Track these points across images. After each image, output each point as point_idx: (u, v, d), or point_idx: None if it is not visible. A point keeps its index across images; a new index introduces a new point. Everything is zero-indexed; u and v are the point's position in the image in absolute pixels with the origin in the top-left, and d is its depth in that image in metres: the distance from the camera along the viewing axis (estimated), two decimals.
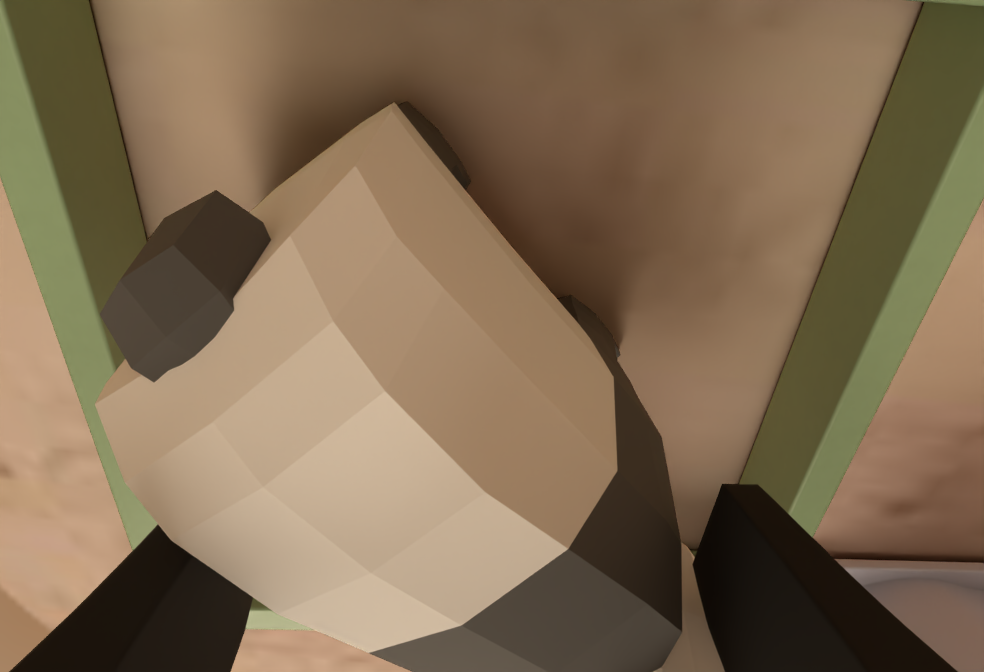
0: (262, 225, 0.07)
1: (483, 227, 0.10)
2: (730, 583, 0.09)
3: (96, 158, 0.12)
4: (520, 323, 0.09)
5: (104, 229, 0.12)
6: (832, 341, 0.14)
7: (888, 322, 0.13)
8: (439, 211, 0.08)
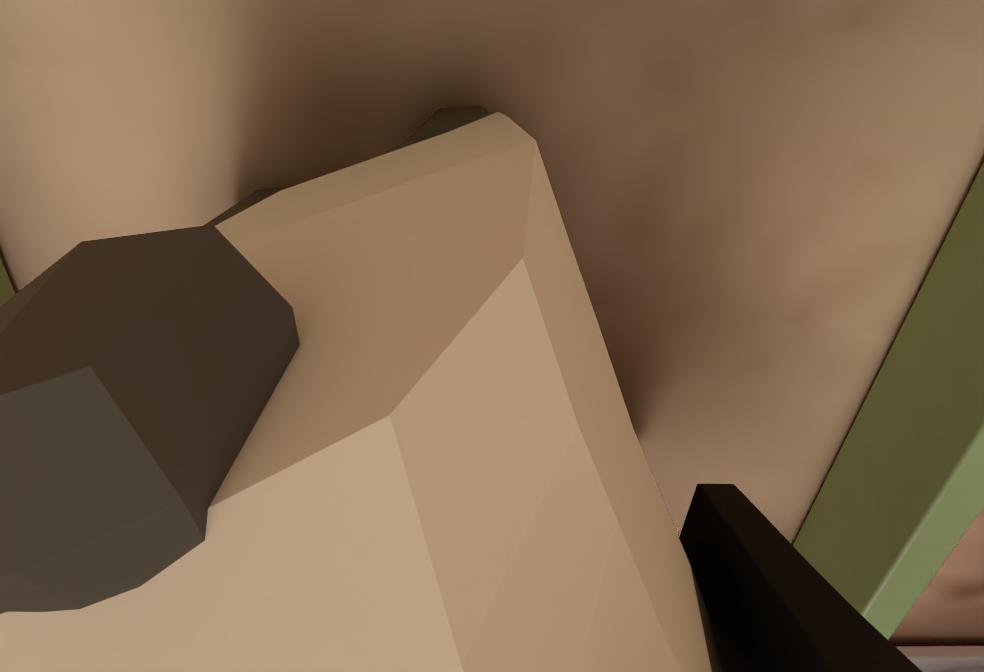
0: (290, 315, 0.04)
1: (605, 347, 0.06)
2: (704, 583, 0.09)
3: None
4: (648, 528, 0.06)
5: None
6: (917, 430, 0.11)
7: None
8: (586, 334, 0.05)
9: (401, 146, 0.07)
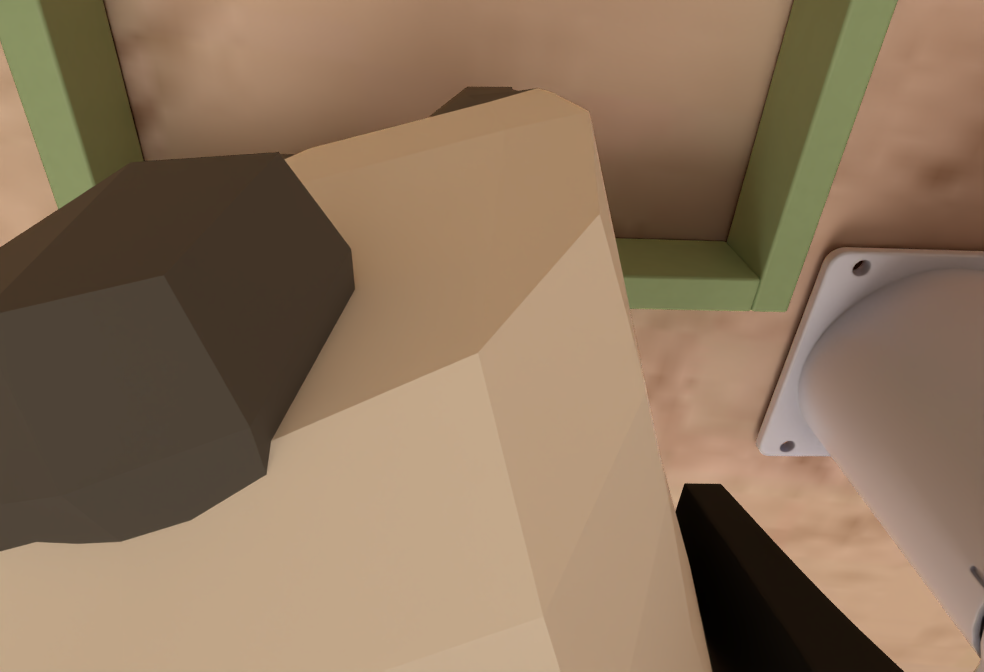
0: (349, 256, 0.04)
1: None
2: None
3: None
4: None
5: None
6: None
7: None
8: None
9: (433, 116, 0.07)
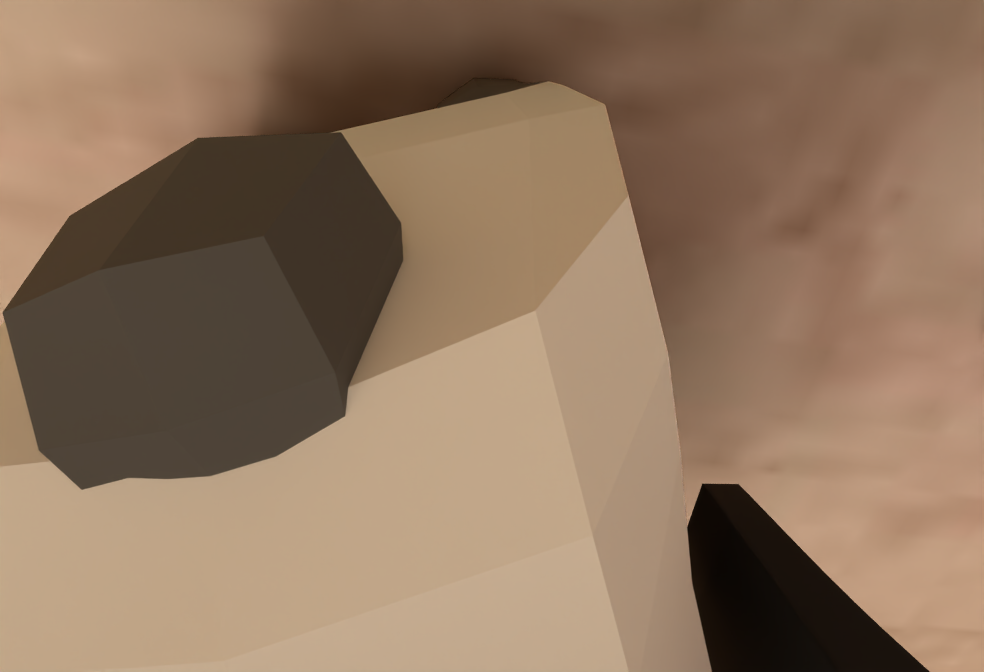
0: (400, 229, 0.04)
1: None
2: (710, 583, 0.09)
3: None
4: None
5: None
6: None
7: None
8: None
9: (447, 105, 0.07)
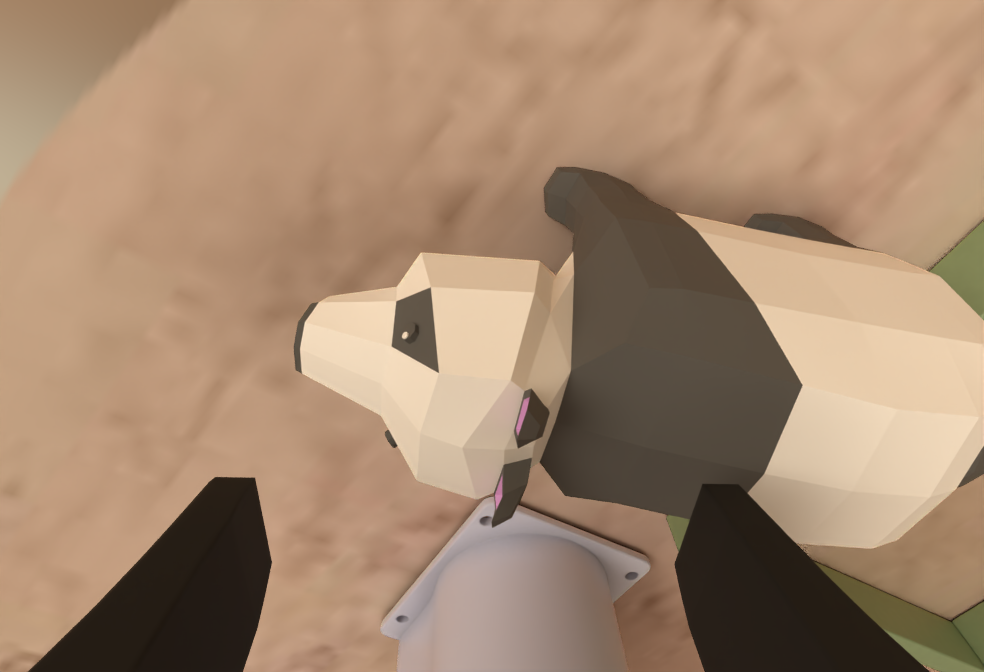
0: None
1: None
2: (710, 583, 0.09)
3: None
4: None
5: None
6: (872, 607, 0.26)
7: (899, 641, 0.25)
8: None
9: None
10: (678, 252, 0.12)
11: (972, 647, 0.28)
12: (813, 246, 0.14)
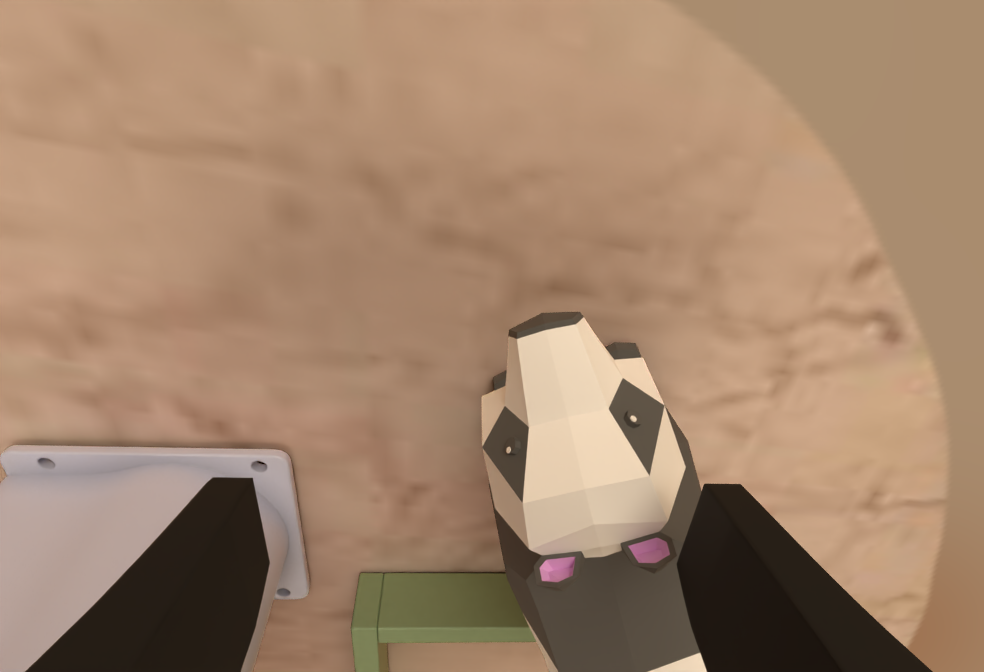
0: None
1: None
2: (712, 583, 0.09)
3: None
4: None
5: None
6: None
7: None
8: None
9: None
10: None
11: None
12: None
